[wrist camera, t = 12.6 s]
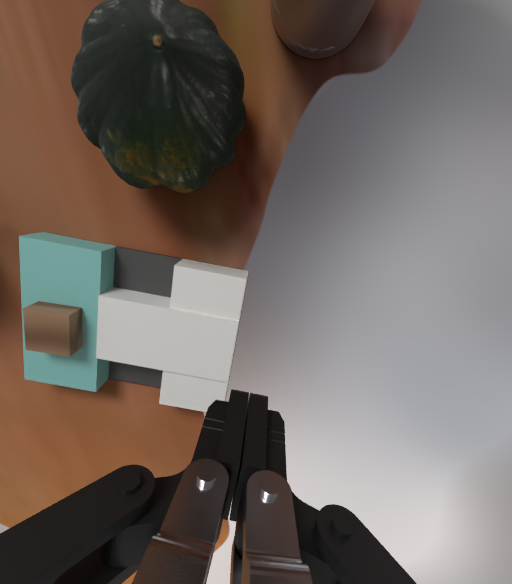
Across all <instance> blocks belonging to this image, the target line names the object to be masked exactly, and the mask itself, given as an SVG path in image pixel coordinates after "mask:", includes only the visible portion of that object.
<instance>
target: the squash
mask: <svg viewBox="0 0 512 584" xmlns="http://www.w3.org/2000/svg"><path fill="white" fill-rule="evenodd" d="M71 83H72V87H73V89H74V91H75V93H76V95H77V97H78V99H79V100H78V108H77V117H78V122H79V125H80V126H81V128H82V130H83V132H84V134H85V135H86V137H87V138H88V140H89V141H90V142H91V143H92V144H94V145H95V146H97V147H98V148H100V149H101V150H102V153H103V155H104V157H105V158H106V160H107V161H108V162H109V164H110V165H111V167H112V168H113V170H114V171H115V173H116V174H117V175H118V176H119V177H120V178H121V179H122V180H124V181H125V182H127V183H128V184H129V185H132V186H134V187H137V188H141V189H144V188H153V187H157V186H160V185H164V186H165V187H167V188H169V189H171V190H173V191H176V192H181V193H190V192H193V191H195V190H198V189H200V188H202V187H203V186H204V185H205V184H206V182H207V181H208V180H209V178H210V176H211V174H212V173H213V171H214V169H218V168H222V167H224V166H226V165H228V164H229V163H230V162H231V161H232V160H233V158H234V155H235V149H236V144H235V138H236V137H237V136H238V135H239V134H240V132H241V131H242V129H243V128H244V126H245V122H246V111H245V106H244V103H243V101H242V98H243V92H244V76H243V72H242V70H241V68H240V65H239V62H238V60H237V57H236V55H235V54H234V53H233V51H232V50H231V49H230V48H229V46H228V45H227V44H226V43H225V42H224V41H223V40H222V39H221V37H220V36H219V33H218V31H217V29H216V26H215V24H214V23H213V21H212V20H211V19H210V18H209V17H208V16H207V15H206V14H205V13H204V12H202V11H201V10H199V9H196V8H193V7H189V6H187V5H185V4H183V3H181V2H180V1H179V0H105V1H104V2H102V3H101V4H99V5H98V6H97V7H95V8H94V9H93V11H92V12H91V14H90V16H89V17H88V18H87V20H86V22H85V24H84V26H83V32H82V38H81V49H80V51H79V53H78V54H77V56H76V58H75V60H74V63H73V66H72V72H71Z"/></svg>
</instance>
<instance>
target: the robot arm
mask: <svg viewBox="0 0 512 584" xmlns="http://www.w3.org/2000/svg"><path fill="white" fill-rule="evenodd" d="M375 2H376V0H271V14H272V20H273V24H274V26H275V29H276V31H277V34H278V35H279V37H280V38H281V40H282V42H283V43H284V44H285V45H286V46H287V47H288V48H289V49H290V50H291V51H293V52H295V53H296V54H298V55H300V56H303V57H306V58H311V59H321V58H327V57H330V56H332V55H334V54H337V53H338V52H340V51H341V50H343V49H344V48H345V47H347V46H348V45H349V44H350V42H351V41H352V40H353V39H354V38H355V36H356V35H357V33H358V32H359V30H360V29H361V27H362V25H363V23H364V21H365V20H366V18H367V16H368V14H369V12H370V10H371V9H372V7H373V5H374V3H375ZM248 397H249V400H248ZM284 434H285V430H284V421H283V419H282V417H281V415H280V413H279V412H277V411H272V410H268V397H267V396H263V395H258V394H253V393H250V396H249V393H248V392H243V391H238V390H231V394H230V399H229V402H226V401H221V400H215V401H214V402H213V403H212V404H211V405H210V406H209V407H208V410H207V413H206V416H205V419H204V423H203V426H202V429H201V433H200V436H199V439H198V442H197V446H196V449H195V452H194V455H193V459H192V461H191V463H190V464H189V465H188V466H187V468H186V469H185V470H183V471H182V472H180V473H178V474H176V475H173V476H168V477H160V478H154V476H153V474H152V472H151V471H150V470H149V469H147V468H146V467H143V466H140V465H127V466H123V467H121V468H119V469H117V470H115V471H113V472H111V473H109V474H107V475H106V476H104V477H102V478H100V479H98V480H97V481H95V482H93V483H91V484H89V485H88V486H86V487H84V488H82V489H80V490H78V491H77V492H75V493H73V494H71V495H69V496H68V497H66V498H64V499H62V500H60V501H59V502H57V503H55V504H53V505H51V506H50V507H48V508H46V509H44V510H42V511H40V512H39V513H37V514H35V515H33V516H31V517H30V518H28V519H26V520H24V521H22V522H21V523H19V524H17V525H15V526H13V527H11V528H10V529H8V530H6V531H4V532H3V533H1V534H0V584H121V583H123V582H124V581H125V580H126V579H127V578H129V577H130V576H131V575H132V574H133V573H135V572H136V571H137V573H136V575H135V577H134V580H133V582H132V584H206V581H207V577H208V573H209V569H210V565H211V560H212V556H213V552H214V548H215V544H216V542H217V540H218V538H219V535H220V530H221V526H222V521H223V519H225V520H228V515H229V511H230V506H231V502H232V506H231V513H230V520H231V521H236V530H235V536H234V541H233V545H232V554H231V574H230V584H416V583H415V581H414V580H413V579H412V578H411V577H410V576H409V575H408V574H407V572H405V570H404V569H403V568H402V567H401V566H400V565H399V564H398V562H397V561H396V560H395V559H394V558H393V557H392V556H391V555H390V554H389V552H388V551H387V550H386V549H385V548H384V547H383V546H382V545H381V544H380V542H379V541H378V540H377V539H376V538H375V537H374V536H373V535H372V533H371V532H370V531H369V530H368V529H367V528H366V527H365V526H364V525H363V523H362V522H361V521H360V520H359V519H358V518H357V517H356V516H355V515H354V514H353V513H352V512H351V511H349V510H348V509H346V508H344V507H342V506H339V505H326V506H324V507H323V508H322V509H321V510H320V511H319V510H317V509H315V508H313V507H311V506H309V505H308V504H306V503H304V502H302V501H301V500H300V499H298V498H297V497H296V496H295V495H294V493H293V492H292V491H291V488H290V486H289V484H288V482H287V477H286V455H285V435H284ZM232 498H233V499H232Z"/></svg>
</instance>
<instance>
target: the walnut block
mask: <svg viewBox="0 0 512 584" xmlns="http://www.w3.org/2000/svg"><path fill="white" fill-rule="evenodd" d="M23 320H24V333H25V347H26V350H29V351H35V352H42V353H48V354H55V355H61V356H68V357H70V356H72V355H73V354H74V353H75V352H77V351H78V350H79V349H80V348H82V347H83V340H82V308H81V307H74V306H68V305H61V304H55V303H49V302H42V301H38V302H36V303H33V304H31V305H29V306H27V307H25V308H23Z"/></svg>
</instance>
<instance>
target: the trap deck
mask: <svg viewBox="0 0 512 584" xmlns="http://www.w3.org/2000/svg"><path fill="white" fill-rule="evenodd" d="M19 251H20V276H21V302H22V327H23V353H24V378H25V379H27V380H32V381H38V382H43V383H49V384H54V385H60V386H65V387H71V388H76V389H82V390H87V391H93V392H97V390H98V389H99V388H100V387H101V386H102V385H103V384H104V382H105V381H106V380H107V379H108V378H111V379H116V380H122V381H127V382H133V383H138V384H144V385H149V386H155V387H160V388H161V392H160V401H159V404H164V405H169V406H175V407H180V408H186V409H191V410H197V411H202V412H207V410H208V407H209V406H210V405H211V404H212V403H213V402H214V401H215V400H221V401H225V399H226V394H227V388H228V383H229V378H230V372H231V367H232V361H233V356H234V350H235V344H236V339H237V333H238V328H239V323H240V317H241V312H242V306H243V300H244V295H245V290H246V284H247V279H248V273H249V271H245V270H240V269H235V268H229V267H224V266H219V265H214V264H208V263H203V262H198V261H192V260H187V259H182V258H177V257H171V256H166V255H161V254H155V253H150V252H145V251H140V250H134V249H129V248H124V247H118V246H113V245H108V244H103V243H97V242H92V241H87V240H81V239H76V238H71V237H66V236H60V235H55V234H50V233H44V232H40V233H34V234H28V235H22V236H19ZM38 301H42V302H49V303H55V304H61V305H68V306H74V307H81V308H82V340H83V347H82V348H80V349H79V350H78V351H77V352H75V353H74V354H73V355H72V356H70V357H68V356H61V355H55V354H48V353H42V352H35V351H29V350H26V347H25V333H24V320H23V308H25V307H27V306H29V305H31V304H33V303H36V302H38Z"/></svg>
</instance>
